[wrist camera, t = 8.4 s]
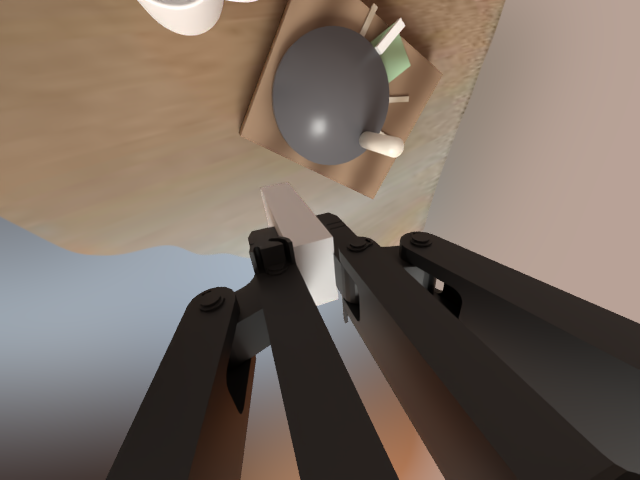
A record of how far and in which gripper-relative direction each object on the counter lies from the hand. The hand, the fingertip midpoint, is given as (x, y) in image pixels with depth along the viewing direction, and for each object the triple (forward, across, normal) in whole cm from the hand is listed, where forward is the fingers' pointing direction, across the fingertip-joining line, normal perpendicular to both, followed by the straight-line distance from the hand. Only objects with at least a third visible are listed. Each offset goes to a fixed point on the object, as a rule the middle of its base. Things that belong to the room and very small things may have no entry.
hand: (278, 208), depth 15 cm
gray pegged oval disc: (+20, +12, +5) cm, 23 cm away
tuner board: (+24, +13, +3) cm, 27 cm away
